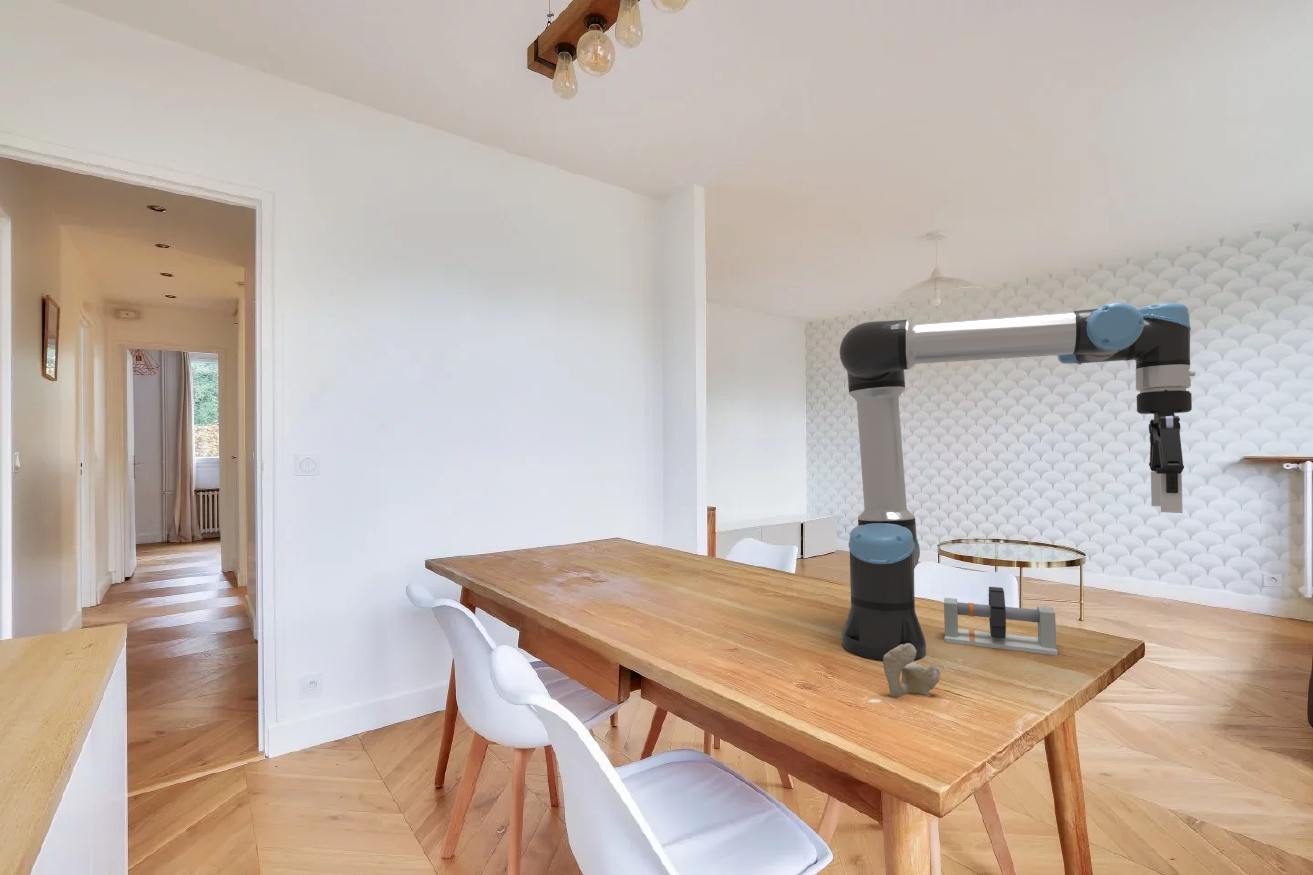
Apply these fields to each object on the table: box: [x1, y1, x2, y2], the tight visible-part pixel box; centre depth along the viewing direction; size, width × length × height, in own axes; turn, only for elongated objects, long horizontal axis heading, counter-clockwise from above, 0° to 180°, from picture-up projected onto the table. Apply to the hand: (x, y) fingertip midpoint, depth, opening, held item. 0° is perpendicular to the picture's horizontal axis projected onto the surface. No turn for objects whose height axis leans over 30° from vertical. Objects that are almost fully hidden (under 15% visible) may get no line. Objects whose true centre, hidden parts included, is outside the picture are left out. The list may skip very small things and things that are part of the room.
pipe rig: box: [943, 597, 1059, 656], centre depth 117 cm, size 19×8×7 cm, turn 63°
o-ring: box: [988, 586, 1007, 639], centre depth 117 cm, size 2×9×9 cm, turn 153°
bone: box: [882, 643, 941, 698], centre depth 93 cm, size 9×6×10 cm
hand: (1166, 509), depth 106 cm, fingers open, 13 cm apart
